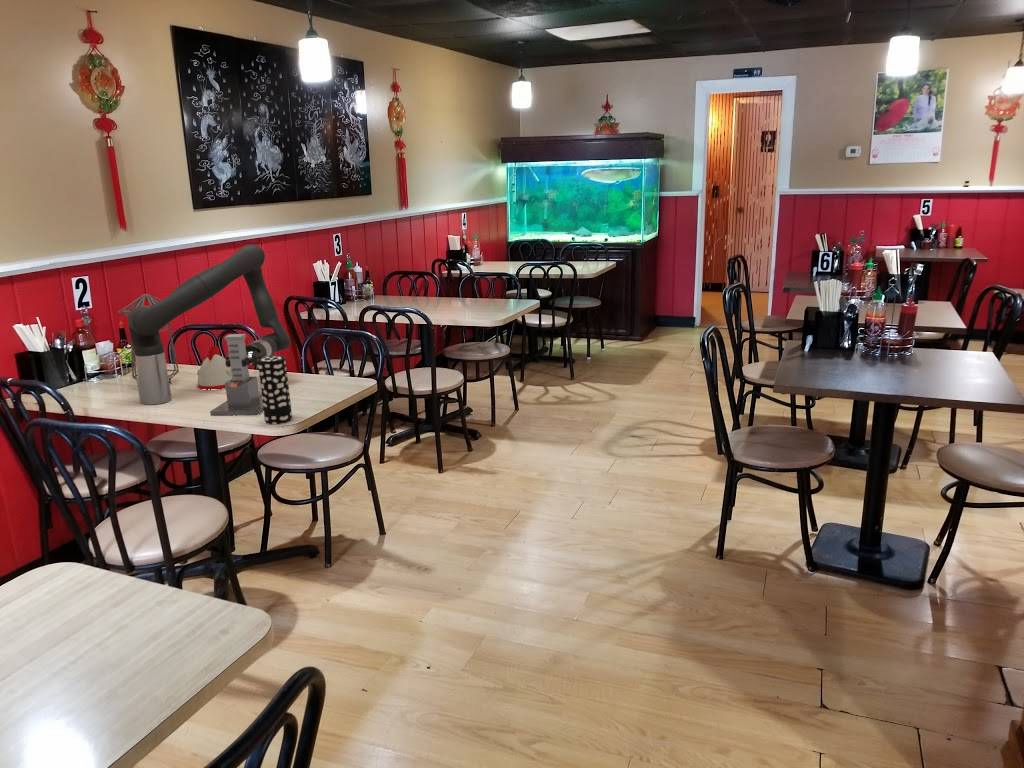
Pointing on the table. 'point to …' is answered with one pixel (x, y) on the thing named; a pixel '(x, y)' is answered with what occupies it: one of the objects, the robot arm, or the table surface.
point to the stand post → (237, 357)
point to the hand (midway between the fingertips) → (235, 363)
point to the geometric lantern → (150, 299)
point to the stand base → (240, 399)
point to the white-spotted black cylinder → (274, 389)
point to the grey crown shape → (213, 371)
